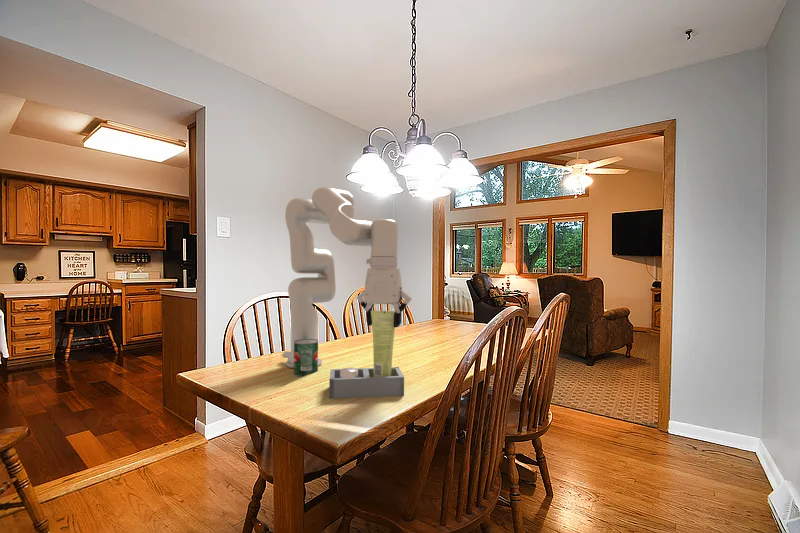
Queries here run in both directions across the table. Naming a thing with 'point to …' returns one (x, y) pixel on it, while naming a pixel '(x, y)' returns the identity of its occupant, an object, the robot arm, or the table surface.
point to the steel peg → (349, 373)
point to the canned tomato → (305, 357)
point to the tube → (382, 341)
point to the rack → (366, 384)
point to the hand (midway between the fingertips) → (383, 325)
